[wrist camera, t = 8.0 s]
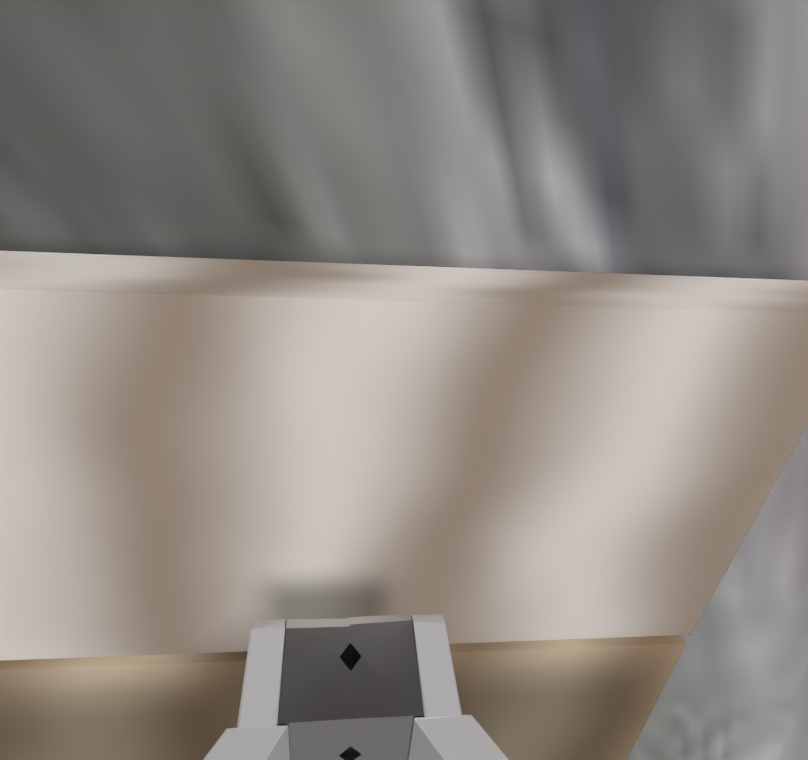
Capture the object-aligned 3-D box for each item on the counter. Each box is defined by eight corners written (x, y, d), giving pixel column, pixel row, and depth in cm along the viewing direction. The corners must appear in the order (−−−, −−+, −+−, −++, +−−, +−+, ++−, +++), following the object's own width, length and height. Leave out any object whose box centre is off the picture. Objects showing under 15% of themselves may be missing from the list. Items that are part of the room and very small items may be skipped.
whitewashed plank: (812, 280, 13) (868, 315, 11) (664, 587, 18) (690, 634, 17) (-661, 226, 10) (-822, 264, 8) (-307, 613, 15) (-370, 674, 14)
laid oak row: (660, 596, 18) (685, 643, 17) (585, 764, 23) (600, 810, 22) (-298, 624, 15) (-359, 684, 14) (-141, 810, 20) (-175, 867, 19)
